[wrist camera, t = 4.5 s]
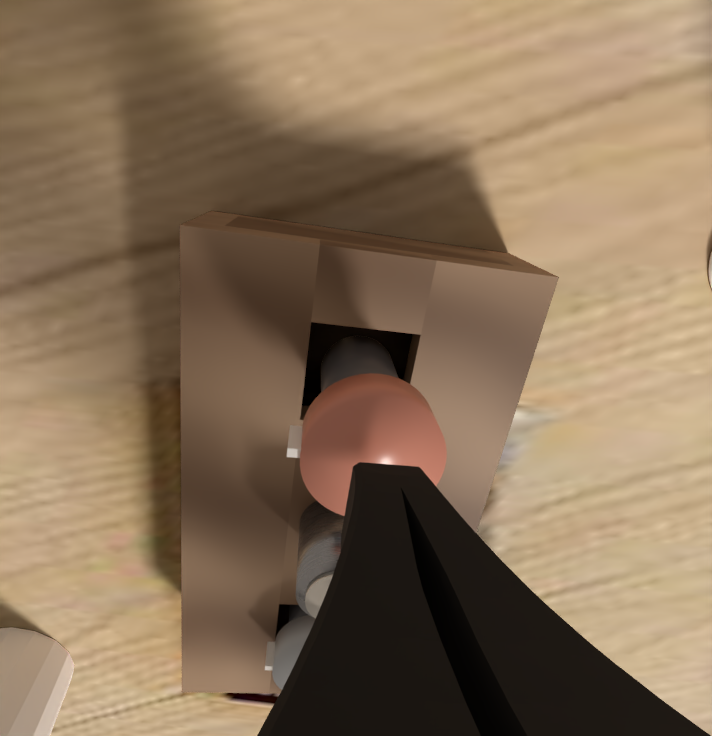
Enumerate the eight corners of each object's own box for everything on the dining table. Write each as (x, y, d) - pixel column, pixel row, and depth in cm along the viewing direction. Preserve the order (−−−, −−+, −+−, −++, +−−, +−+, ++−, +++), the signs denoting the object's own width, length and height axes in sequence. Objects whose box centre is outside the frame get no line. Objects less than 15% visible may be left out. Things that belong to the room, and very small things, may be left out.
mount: (408, 618, 25) (423, 695, 22) (202, 611, 24) (182, 692, 20) (508, 253, 17) (558, 277, 14) (211, 210, 16) (179, 224, 12)
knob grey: (346, 591, 24) (353, 699, 19) (273, 588, 23) (261, 698, 18) (356, 541, 22) (365, 643, 18) (278, 537, 22) (267, 641, 17)
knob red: (397, 418, 16) (429, 523, 12) (292, 408, 16) (280, 514, 11) (416, 327, 15) (462, 404, 10) (301, 313, 14) (293, 387, 10)
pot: (363, 551, 18) (376, 662, 14) (296, 548, 17) (289, 660, 14) (374, 498, 17) (391, 601, 13) (303, 493, 16) (298, 597, 12)
